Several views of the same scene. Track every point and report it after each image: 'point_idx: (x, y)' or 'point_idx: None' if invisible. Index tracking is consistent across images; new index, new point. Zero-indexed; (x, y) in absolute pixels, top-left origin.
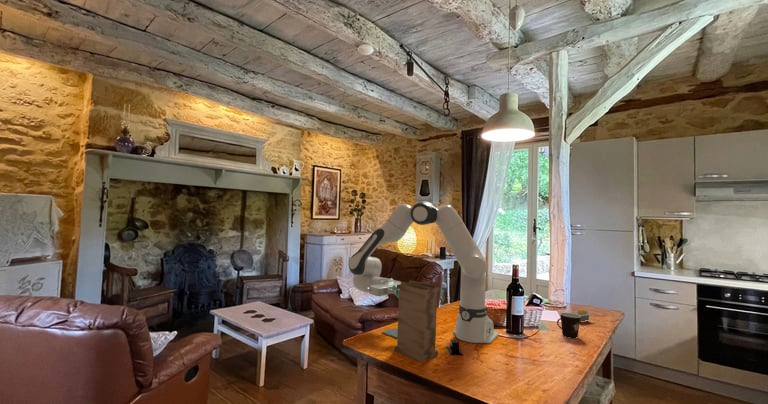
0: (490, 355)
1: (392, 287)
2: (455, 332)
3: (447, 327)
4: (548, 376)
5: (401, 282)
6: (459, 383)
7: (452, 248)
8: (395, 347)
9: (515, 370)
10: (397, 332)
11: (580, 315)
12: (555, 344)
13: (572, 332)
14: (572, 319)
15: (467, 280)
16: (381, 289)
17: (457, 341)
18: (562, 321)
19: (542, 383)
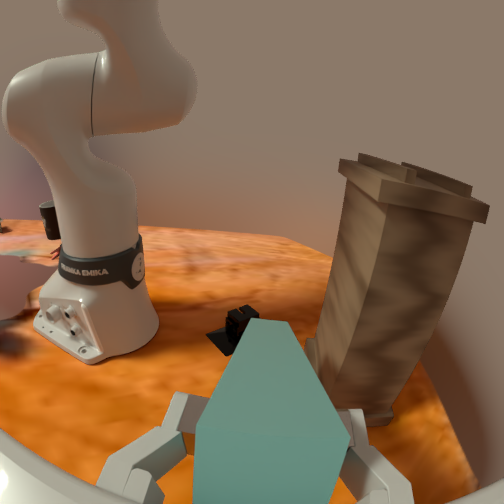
0: (213, 287)
1: (334, 486)
2: (106, 352)
3: (44, 385)
4: (238, 243)
5: (470, 187)
6: None
7: (131, 14)
8: (392, 414)
9: (251, 261)
10: None
11: (2, 220)
12: None
13: None
14: None
15: (88, 156)
16: (498, 481)
17: (242, 308)
18: (54, 216)
19: (266, 245)
